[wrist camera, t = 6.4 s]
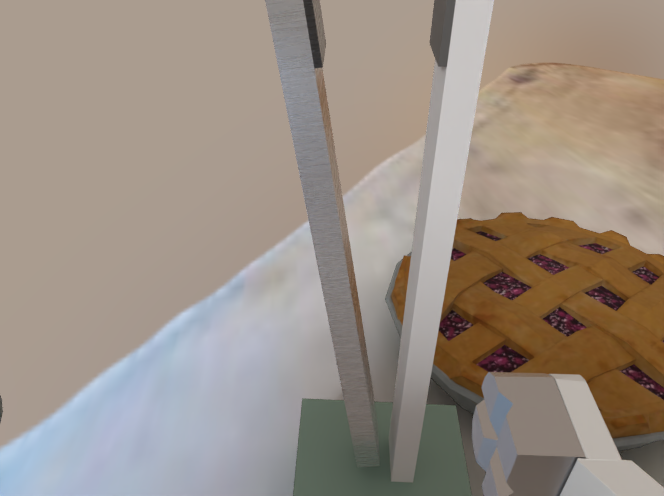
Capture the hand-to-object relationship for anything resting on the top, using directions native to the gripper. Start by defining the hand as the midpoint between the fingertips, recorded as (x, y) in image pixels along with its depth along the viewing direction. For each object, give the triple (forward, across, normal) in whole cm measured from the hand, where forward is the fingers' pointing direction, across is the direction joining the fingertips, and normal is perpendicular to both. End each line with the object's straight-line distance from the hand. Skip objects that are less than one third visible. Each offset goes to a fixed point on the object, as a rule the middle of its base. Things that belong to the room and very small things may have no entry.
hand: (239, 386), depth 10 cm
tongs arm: (+11, +4, -16) cm, 20 cm away
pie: (+23, +18, -21) cm, 36 cm away
